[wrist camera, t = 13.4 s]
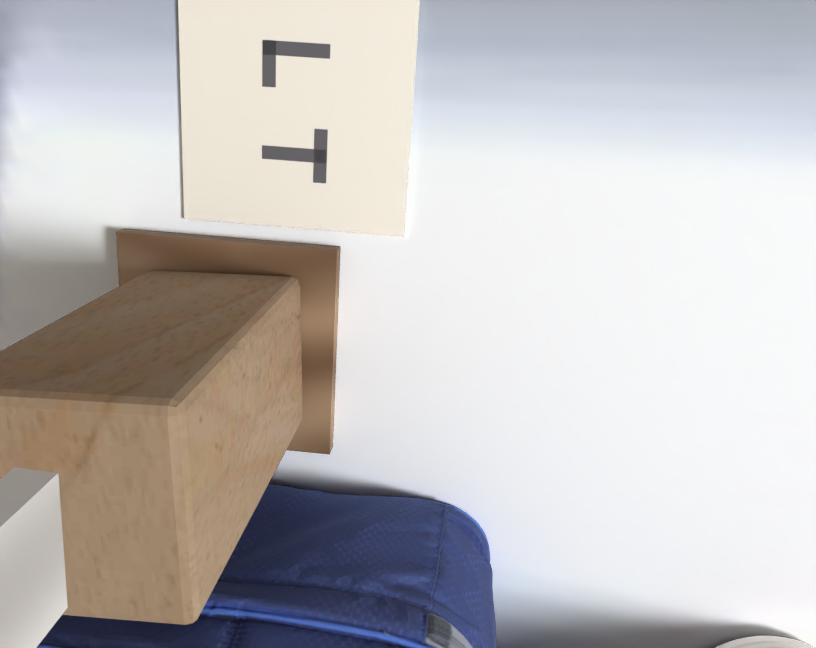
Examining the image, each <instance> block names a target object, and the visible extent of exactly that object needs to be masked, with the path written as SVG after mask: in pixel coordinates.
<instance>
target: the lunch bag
mask: <svg viewBox="0 0 816 648" xmlns="http://www.w3.org/2000/svg"><path fill="white" fill-rule="evenodd" d="M37 648H497V645H496V625H495V614H494V604H493V591H492V568H491V565H490V552H489V545H488V541H487V538H486V535H485V533H484V531H483V530H482V528H481V527H480V526H479V524H478V523H477V522H476V521H475V520H474V519H473V518H472V517H470V516H469V515H468V514H467V513H465V512H464V511H462V510H460V509H458V508H456V507H453V506H451V505H448V504H444V503H440V502H437V501H431V500H425V499H420V498H406V497H387V496H364V495H346V494H329V493H326V492H323V491H315V490H301V489H297V488H292V487H286V486H280V485H270V484H268V486H267V488H266V490H265V491H264V493H263V495H262V497H261V499H260V501H259V503H258V505H257V507H256V509H255V511H254V512H253V514H252V516H251V518H250V520H249V522H248V524H247V526H246V528H245V530H244V531H243V533H242V535H241V537H240V539H239V541H238V543H237V545H236V547H235V549H234V551H233V552H232V554H231V556H230V558H229V560H228V562H227V564H226V566H225V568H224V570H223V572H222V573H221V575H220V577H219V579H218V581H217V583H216V585H215V587H214V589H213V591H212V592H211V594H210V596H209V598H208V600H207V602H206V604H205V606H204V608H203V610H202V612H201V613H200V615H199V617H198V619H197V620H196V621H195V622H194V623H191V624H187V625H181V624H169V623H157V622H144V621H132V620H120V619H108V618H96V617H84V616H71V615H62V616H61V617H60V618H59V619H58V621H57V622H56V623H55V624H54V626H53V627H52V628H51V630H50V631H49V632H48V633H47V635H46V636H45V637H44V639H43V640H42V641H41V642H40V644H39V645H38V646H37Z"/></svg>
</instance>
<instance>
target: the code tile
mask: <svg viewBox="0 0 816 648" xmlns="http://www.w3.org/2000/svg"><path fill="white" fill-rule="evenodd" d="M419 5H420V0H178V16H179V52H180V88H181V124H182V160H183V196H184V219H193V220H205V221H217V222H229V223H242V224H254V225H266V226H278V227H291V228H303V229H315V230H327V231H340V232H352V233H364V234H376V235H389V236H401V237H404V235H405V220H406V204H407V189H408V174H409V158H410V143H411V128H412V112H413V97H414V81H415V66H416V51H417V35H418V20H419Z"/></svg>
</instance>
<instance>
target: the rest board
mask: <svg viewBox="0 0 816 648" xmlns="http://www.w3.org/2000/svg"><path fill="white" fill-rule="evenodd" d="M116 235H117V253H118V270H119V287H120V286H121V285H123V284H125V283H127V282H129V281H131V280H132V279H134V278H136V277H138V276H140V275H142V274H143V273H145V272H148V271H150V270H156V271H177V272H199V273H221V274H243V275H265V276H286V277H294V278H296V279H298V281H299V283H300V300H301V350H302V401H303V418H302V421H301V423H300V425H299V427H298V429H297V430H296V432H295V434H294V436H293V438H292V440H291V442H290V444H289V446H288V448H287V450H291V451H301V452H311V453H321V454H330V452H331V449H332V447H333V427H334V401H335V374H336V348H337V322H338V296H339V270H340V247H338V246H326V245H314V244H302V243H290V242H278V241H266V240H254V239H242V238H230V237H218V236H206V235H194V234H182V233H170V232H157V231H145V230H133V229H123V230H121V231H118V232H116Z"/></svg>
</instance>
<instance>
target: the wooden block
mask: <svg viewBox="0 0 816 648" xmlns="http://www.w3.org/2000/svg"><path fill="white" fill-rule="evenodd" d="M302 418H303V401H302V350H301V300H300V283H299V281H298V279H296V278H294V277H286V276H265V275H243V274H221V273H199V272H177V271H156V270H150V271H148V272H145V273H143V274H142V275H140V276H138V277H136V278H134V279H132V280H131V281H129V282H127V283H125V284H123V285H121V286H120V287H118V288H116V289H114V290H112V291H110V292H109V293H107V294H105V295H103V296H101V297H99V298H98V299H96V300H94V301H92V302H90V303H88V304H87V305H85V306H83V307H81V308H79V309H77V310H76V311H74V312H72V313H70V314H68V315H66V316H65V317H63V318H61V319H59V320H57V321H55V322H54V323H52V324H50V325H48V326H46V327H44V328H43V329H41V330H39V331H37V332H35V333H33V334H31V335H30V336H28V337H26V338H24V339H22V340H20V341H19V342H17V343H15V344H13V345H11V346H9V347H8V348H6V349H4V350H2V351H0V479H1V478H2V477H3V476H4V475H6V474H7V473H8V472H9V471H10V470H12V469H13V468H14V467H17V468H24V469H32V470H39V471H47V472H54V473H58V476H59V490H60V504H61V518H62V533H63V547H64V561H65V576H66V590H67V604H68V608H67V609H66V610H65V612H64V613H63V614H62V615H71V616H84V617H96V618H108V619H120V620H132V621H144V622H157V623H169V624H181V625H187V624H191V623H194V622H195V621H196V620H197V619H198V617H199V615H200V613H201V612H202V610H203V608H204V606H205V604H206V602H207V600H208V598H209V596H210V594H211V592H212V591H213V589H214V587H215V585H216V583H217V581H218V579H219V577H220V575H221V573H222V572H223V570H224V568H225V566H226V564H227V562H228V560H229V558H230V556H231V554H232V552H233V551H234V549H235V547H236V545H237V543H238V541H239V539H240V537H241V535H242V533H243V531H244V530H245V528H246V526H247V524H248V522H249V520H250V518H251V516H252V514H253V512H254V511H255V509H256V507H257V505H258V503H259V501H260V499H261V497H262V495H263V493H264V491H265V490H266V488H267V486H268V484H269V482H270V480H271V478H272V476H273V474H274V472H275V471H276V469H277V467H278V465H279V463H280V461H281V459H282V457H283V455H284V453H285V451H286V450H287V448H288V446H289V444H290V442H291V440H292V438H293V436H294V434H295V432H296V430H297V429H298V427H299V425H300V423H301V421H302Z"/></svg>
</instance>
